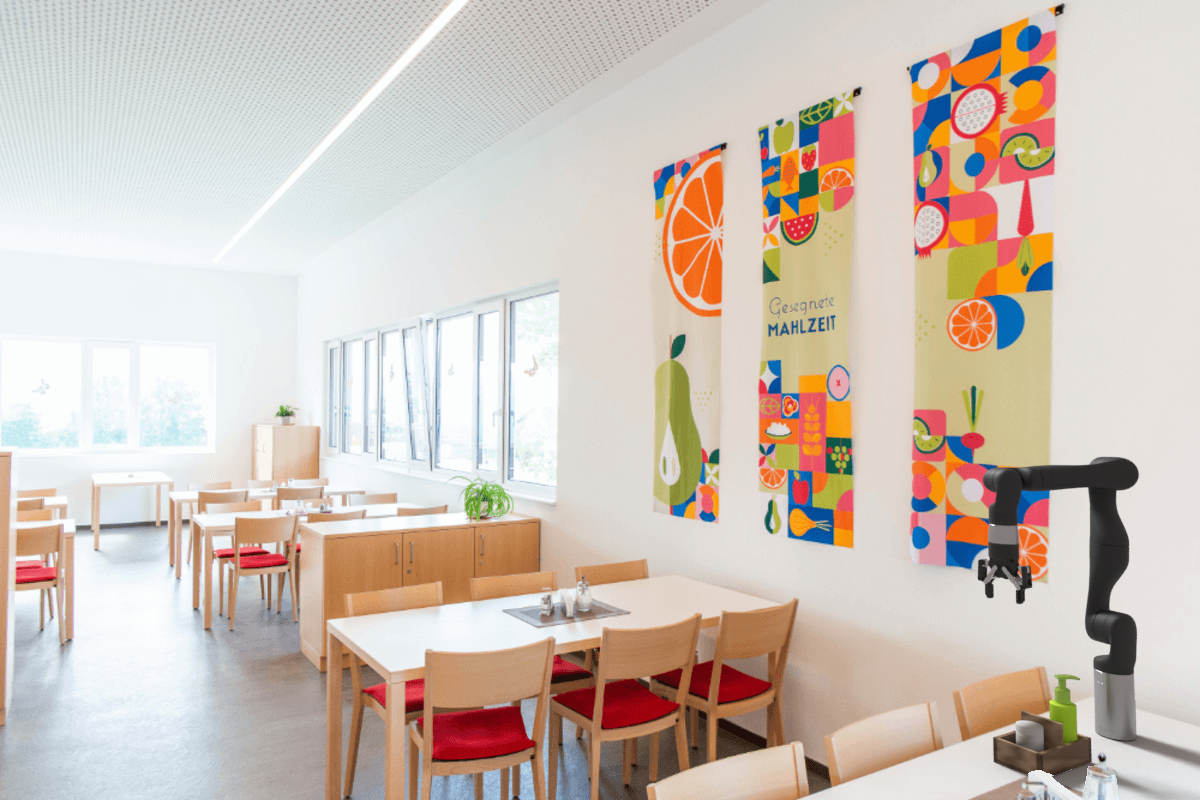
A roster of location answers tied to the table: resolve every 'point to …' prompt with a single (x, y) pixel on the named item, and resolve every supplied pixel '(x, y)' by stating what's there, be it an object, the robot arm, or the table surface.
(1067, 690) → the soap dispenser
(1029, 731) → the caddy
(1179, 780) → the table surface
